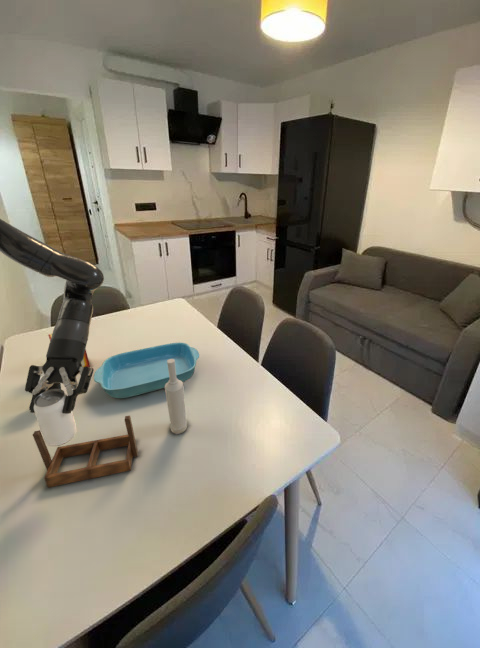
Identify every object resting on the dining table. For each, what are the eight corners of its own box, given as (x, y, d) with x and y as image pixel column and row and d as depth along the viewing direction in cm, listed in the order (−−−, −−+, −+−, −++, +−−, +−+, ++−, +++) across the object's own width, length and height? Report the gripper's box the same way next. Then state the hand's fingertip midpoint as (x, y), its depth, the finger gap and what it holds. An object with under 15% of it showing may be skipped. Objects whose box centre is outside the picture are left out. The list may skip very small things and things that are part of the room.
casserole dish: (96, 411, 95) (91, 394, 92) (99, 372, 113) (95, 357, 110) (206, 382, 109) (205, 367, 106) (193, 352, 128) (192, 338, 125)
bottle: (188, 420, 93) (181, 354, 82) (187, 433, 88) (179, 365, 78) (171, 422, 92) (162, 356, 82) (169, 435, 87) (159, 367, 77)
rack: (42, 488, 72) (24, 448, 66) (55, 456, 80) (41, 418, 74) (135, 469, 77) (127, 430, 71) (139, 441, 85) (132, 404, 79)
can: (58, 451, 66) (45, 411, 61) (38, 441, 68) (24, 402, 63) (83, 430, 71) (73, 392, 67) (64, 421, 73) (53, 384, 69)
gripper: (28, 336, 68) (4, 412, 62) (90, 337, 68) (73, 413, 62) (50, 343, 75) (30, 412, 69) (106, 344, 75) (91, 413, 69)
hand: (50, 412), depth 65 cm, fingers closed on can, 6 cm apart
